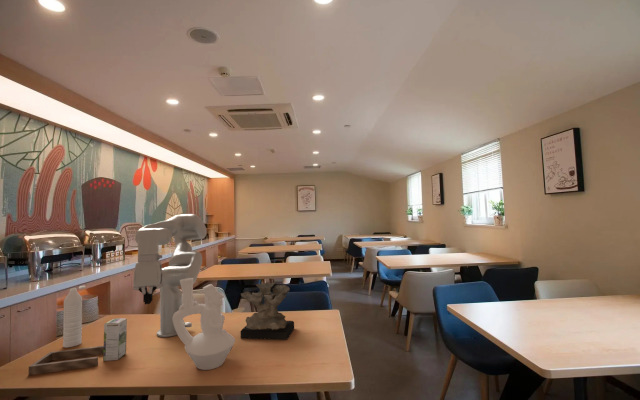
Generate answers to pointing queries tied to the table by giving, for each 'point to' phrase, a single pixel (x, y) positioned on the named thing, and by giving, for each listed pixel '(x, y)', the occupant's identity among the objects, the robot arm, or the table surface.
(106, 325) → the syrup box
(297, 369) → the table surface
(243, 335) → the coral
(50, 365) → the u rest
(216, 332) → the white sculpture
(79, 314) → the water bottle
